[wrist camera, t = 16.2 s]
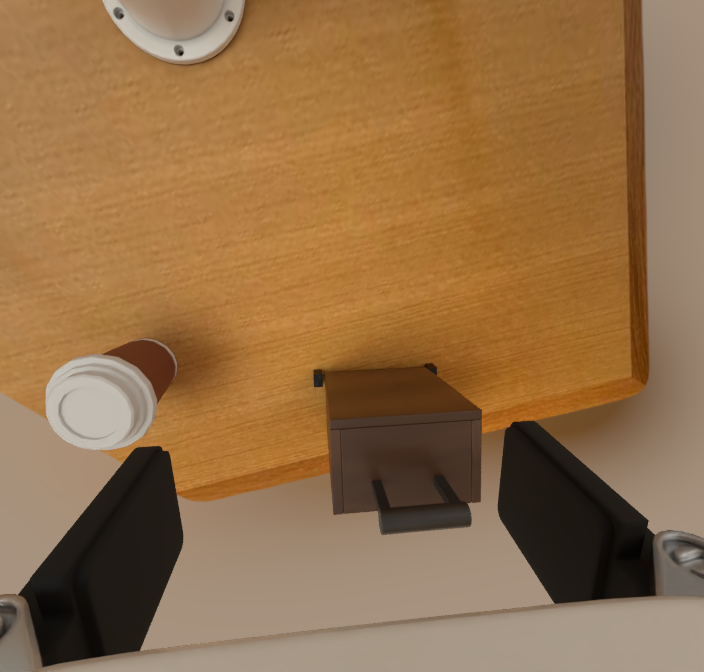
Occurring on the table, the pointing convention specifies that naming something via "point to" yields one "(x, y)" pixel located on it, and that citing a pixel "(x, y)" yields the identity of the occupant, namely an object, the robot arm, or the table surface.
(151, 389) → the coffee cup
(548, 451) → the robot arm
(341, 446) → the shelf
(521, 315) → the table surface
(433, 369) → the dark brown rod
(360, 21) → the table surface
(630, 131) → the table surface
